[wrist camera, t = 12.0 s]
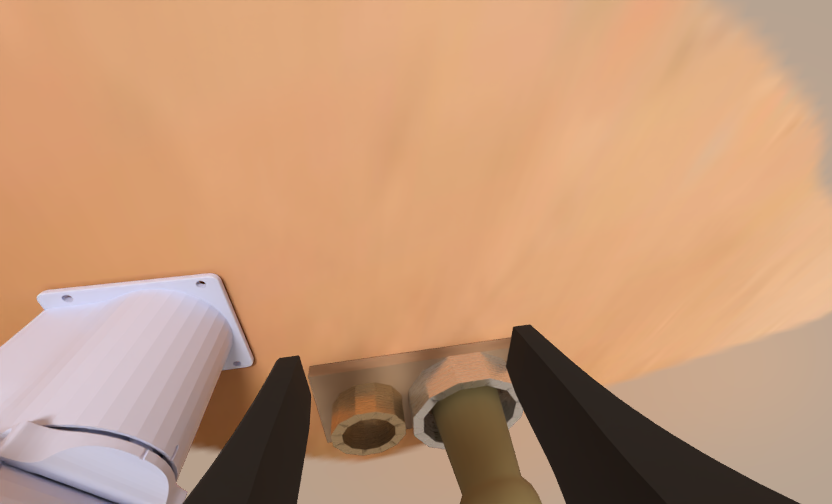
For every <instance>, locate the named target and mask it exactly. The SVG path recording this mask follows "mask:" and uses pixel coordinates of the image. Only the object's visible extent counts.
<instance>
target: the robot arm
mask: <svg viewBox="0 0 832 504" xmlns="http://www.w3.org/2000/svg"><path fill="white" fill-rule="evenodd" d="M199 281H203V282H205V284H202V283H200V282H199ZM69 296H71V297H69ZM37 301H38V302H39V303H40V305H41V306H42V307H43V308H44V311H43V312H41V313H40V314H39V315H38V316H37V317H36V318H34V319H33V320H32V321H31V322H30V323H28V324H27V325H26V326H25V327H24V328H23V329H21V330H20V331H19V332H18V333H17V334H15V335H14V336H13V337H12V338H11V339H9V340H8V341H7V342H6V343H5V344H4V345H2V346H1V347H0V504H297V499H298V493H299V487H300V481H301V475H302V470H303V463H304V458H305V452H306V446H307V439H308V433H309V425H310V409H311V393H310V390H309V386H308V383H307V380H306V377H305V373H304V370H303V367H302V364H301V360H300V357H299V356H292V357H284V358H279V359H278V360H277V361H276V363H275V365H274V367H273V368H272V370H271V372H270V374H269V376H268V378H267V379H266V381H265V383H264V385H263V386H262V388H261V390H260V391H259V393H258V395H257V397H256V398H255V400H254V402H253V403H252V405H251V406H250V408H249V410H248V411H247V413H246V414H245V416H244V418H243V419H242V421H241V422H240V424H239V426H238V427H237V429H236V430H235V432H234V433H233V435H232V436H231V438H230V439H229V441H228V442H227V443H226V445H225V446H224V448H223V449H222V451H221V452H220V454H219V455H218V457H217V458H216V460H215V461H214V462H213V464H212V465H211V467H210V468H209V469H208V471H207V472H206V473H205V475H204V476H203V477H202V479H201V480H200V481H199V483H198V484H197V485H196V487H195V488H194V489H193V491H192V492H191V493H190V495H189V496H188V497H187V498H186V495H187V491H186V490H184V489H182V488H181V487H179V486H178V485H177V483H176V481H177V479H178V476H179V474H180V472H181V469H182V466H183V464H184V462H185V459H186V457H187V455H188V452H189V450H190V447H191V445H192V442H193V440H194V437H195V435H196V433H197V430H198V428H199V425H200V423H201V420H202V418H203V415H204V413H205V410H206V408H207V406H208V403H209V401H210V398H211V396H212V393H213V391H214V388H215V386H216V384H217V381H218V379H219V376H220V374H221V371H222V370H229V369H236V368H243V367H249V366H251V365H252V364H253V361H254V358H253V355H252V353H251V350H250V348H249V345H248V343H247V341H246V338H245V336H244V333H243V331H242V329H241V326H240V324H239V321H238V319H237V317H236V314H235V312H234V309H233V307H232V304H231V302H230V300H229V297H228V295H227V292H226V290H225V288H224V285H223V283H222V280H221V278H220V277H219V276H218V275H216V274H213V273H207V274H197V275H188V276H178V277H168V278H159V279H149V280H139V281H129V282H120V283H110V284H100V285H91V286H81V287H71V288H62V289H52V290H45V291H43V292H41V293H40V294H39V295H38V296H37ZM237 361H239V362H237ZM506 368H507V371H508V374H509V377H510V380H511V383H512V385H513V388H514V391H515V393H516V396H517V398H518V400H519V402H520V404H521V406H522V408H523V410H524V412H525V414H526V416H527V418H528V420H529V423H530V425H531V427H532V429H533V431H534V433H535V435H536V437H537V439H538V441H539V443H540V444H541V447H542V449H543V451H544V453H545V455H546V456H547V459H548V461H549V463H550V465H551V467H552V470H553V472H554V474H555V476H556V479H557V482H558V484H559V487H560V489H561V491H562V494H563V497H564V499H565V502H566V504H800V503H798V502H796V501H794V500H792V499H790V498H788V497H785V496H784V495H782V494H779V493H777V492H775V491H773V490H771V489H769V488H767V487H765V486H763V485H761V484H759V483H757V482H755V481H753V480H752V479H750V478H748V477H746V476H744V475H742V474H740V473H738V472H737V471H735V470H733V469H731V468H729V467H727V466H726V465H724V464H722V463H720V462H718V461H716V460H715V459H713V458H711V457H709V456H708V455H706V454H704V453H702V452H701V451H699V450H697V449H695V448H694V447H692V446H690V445H689V444H687V443H686V442H684V441H682V440H681V439H679V438H677V437H676V436H674V435H672V434H671V433H669V432H668V431H666V430H664V429H663V428H661V427H660V426H658V425H656V424H655V423H654V422H652V421H650V420H649V419H648V418H646V417H645V416H643V415H642V414H640V413H639V412H637V411H636V410H634V409H633V408H631V407H630V406H629V405H627V404H626V403H624V402H623V401H622V400H620V399H619V398H618V397H616V396H615V395H613V394H612V393H611V392H610V391H608V390H607V389H606V388H604V387H603V386H602V385H600V384H599V383H598V382H597V381H595V380H594V379H593V378H592V377H590V376H589V375H588V374H587V373H586V372H584V371H583V370H582V369H581V368H580V367H578V366H577V365H576V364H575V363H573V362H572V361H571V360H570V359H569V358H568V357H566V356H565V355H564V354H563V353H562V352H561V351H560V350H558V349H557V348H556V347H555V346H554V345H553V344H552V343H550V342H549V341H548V340H547V339H546V338H545V337H544V336H542V335H541V334H540V333H539V332H538V331H537V330H536V329H535V328H533V327H532V326H531V325H523V326H516V327H513V331H512V336H511V342H510V347H509V352H508V357H507V362H506ZM185 498H186V500H185Z"/></svg>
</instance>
